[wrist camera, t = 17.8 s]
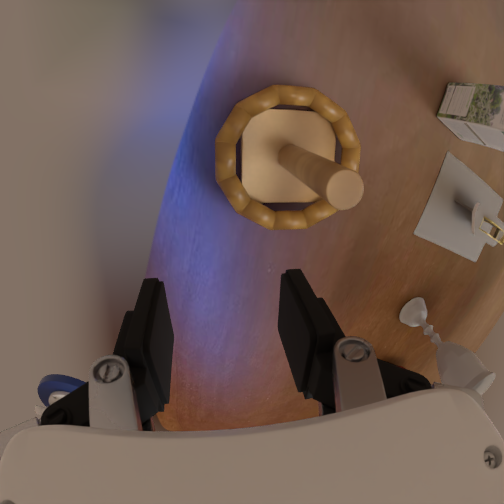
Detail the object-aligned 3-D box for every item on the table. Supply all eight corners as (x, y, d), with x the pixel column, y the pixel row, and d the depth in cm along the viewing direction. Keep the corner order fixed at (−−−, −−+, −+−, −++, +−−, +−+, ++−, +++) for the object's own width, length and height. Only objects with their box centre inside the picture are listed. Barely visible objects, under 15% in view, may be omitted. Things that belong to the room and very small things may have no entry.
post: (240, 200, 28) (263, 266, 17) (240, 108, 24) (267, 102, 13) (326, 198, 29) (394, 257, 18) (332, 113, 25) (415, 122, 14)
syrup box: (459, 140, 28) (547, 171, 15) (433, 115, 26) (531, 137, 13) (471, 106, 26) (558, 126, 13) (446, 80, 24) (540, 89, 11)
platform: (475, 262, 38) (499, 282, 32) (413, 233, 33) (444, 257, 27) (503, 199, 33) (530, 214, 27) (447, 151, 28) (484, 163, 23)
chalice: (434, 305, 40) (497, 379, 24) (405, 333, 42) (460, 413, 26) (419, 284, 37) (493, 367, 21) (387, 316, 39) (449, 407, 23)
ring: (216, 227, 28) (217, 235, 26) (214, 84, 22) (215, 82, 20) (346, 223, 30) (353, 230, 28) (358, 95, 24) (367, 95, 22)
